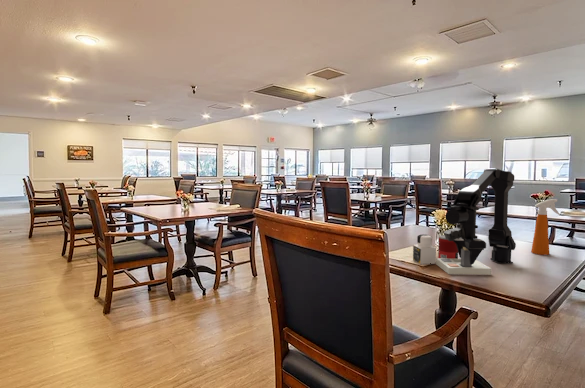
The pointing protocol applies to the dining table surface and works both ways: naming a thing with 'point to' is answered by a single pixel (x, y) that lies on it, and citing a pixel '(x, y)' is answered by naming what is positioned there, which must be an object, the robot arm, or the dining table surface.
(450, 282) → the dining table surface
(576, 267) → the dining table surface
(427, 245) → the medicine bottle
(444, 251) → the canned food
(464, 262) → the plug
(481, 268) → the socket board
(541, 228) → the spray bottle
